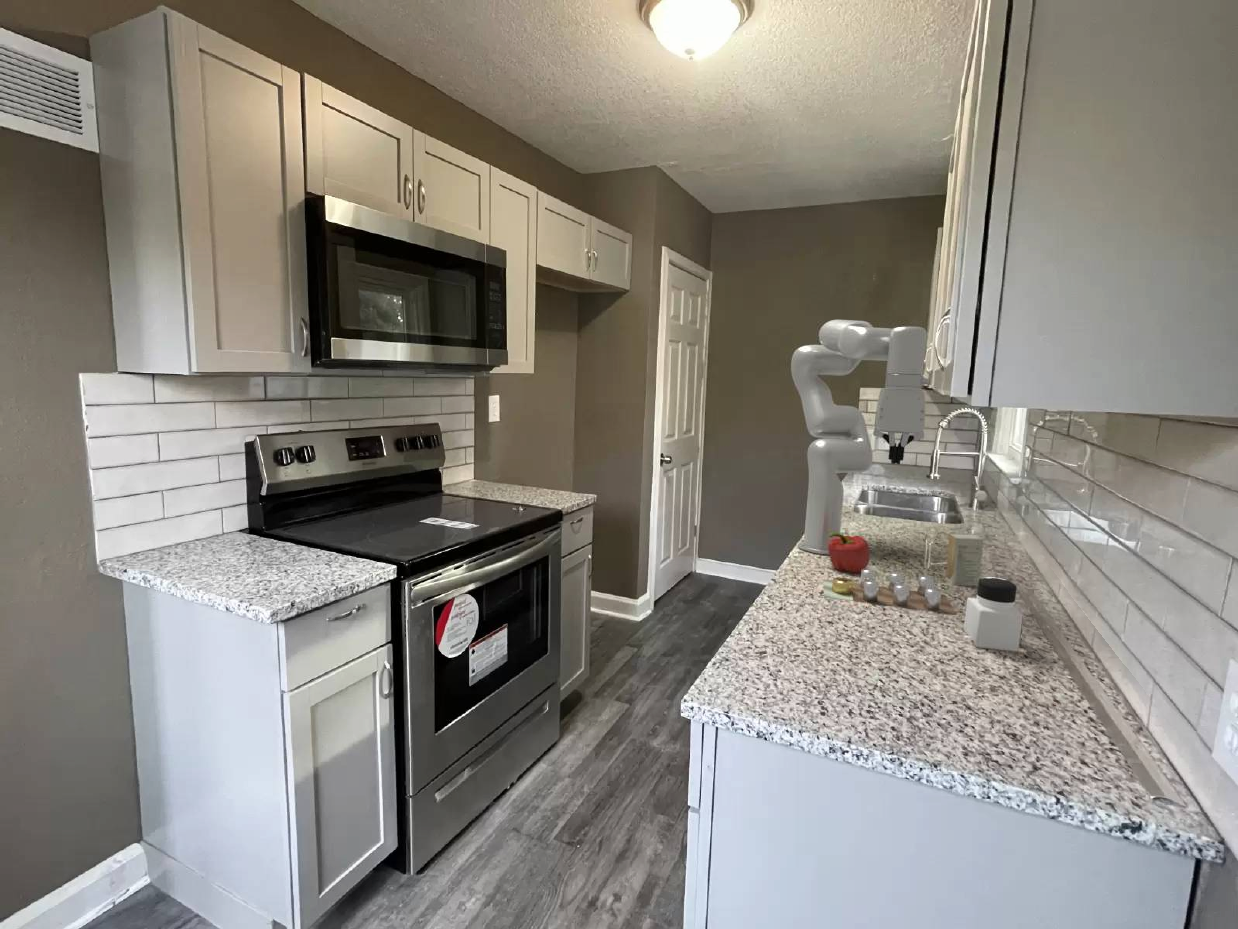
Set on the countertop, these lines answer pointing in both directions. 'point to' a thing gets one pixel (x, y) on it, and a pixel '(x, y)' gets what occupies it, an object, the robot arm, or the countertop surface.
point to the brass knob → (842, 586)
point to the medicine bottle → (994, 616)
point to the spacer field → (900, 589)
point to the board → (888, 598)
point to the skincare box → (964, 559)
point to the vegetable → (848, 553)
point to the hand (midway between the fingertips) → (895, 463)
